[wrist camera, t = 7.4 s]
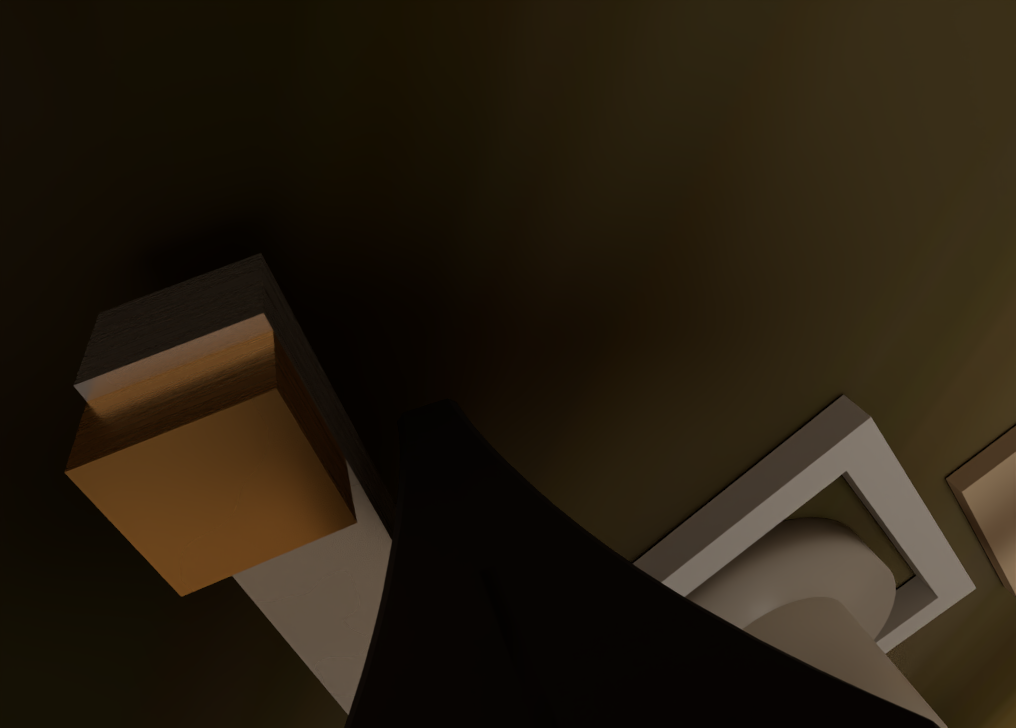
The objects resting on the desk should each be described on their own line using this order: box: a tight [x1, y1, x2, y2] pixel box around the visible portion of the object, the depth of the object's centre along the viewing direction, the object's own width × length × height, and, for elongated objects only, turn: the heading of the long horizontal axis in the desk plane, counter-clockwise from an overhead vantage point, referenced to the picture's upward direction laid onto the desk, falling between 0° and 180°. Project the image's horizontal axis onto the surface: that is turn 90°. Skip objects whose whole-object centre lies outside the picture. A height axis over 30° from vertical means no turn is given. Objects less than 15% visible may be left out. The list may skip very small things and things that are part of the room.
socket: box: [633, 395, 976, 654], centre depth 18 cm, size 10×10×1 cm
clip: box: [64, 253, 396, 715], centre depth 11 cm, size 3×16×2 cm, turn 14°
